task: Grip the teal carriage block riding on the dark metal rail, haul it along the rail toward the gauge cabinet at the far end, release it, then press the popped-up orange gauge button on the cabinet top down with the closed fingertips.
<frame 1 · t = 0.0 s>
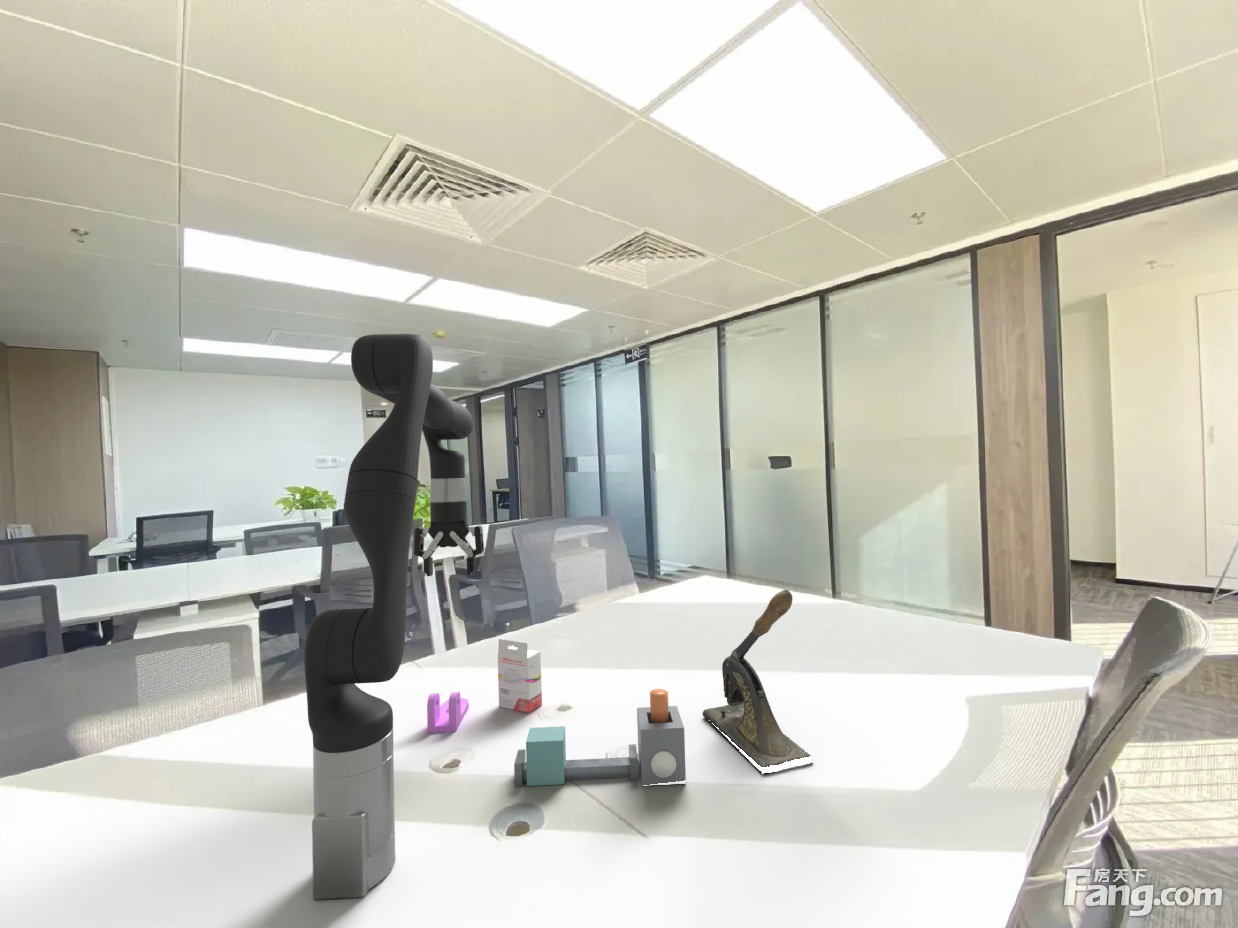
hand: (449, 575, 113), 29 cm above the table, tool pointing down, fingers open, 8 cm apart
gauge button: (659, 705, 88), point 11 cm above the table, slide at 0.0 cm
carriage: (546, 755, 87), point 4 cm above the table, slide at 0.0 cm
bracket: (450, 718, 110), on the table
gauge cabinet: (661, 771, 88), on the table
embossing press: (754, 741, 98), on the table
ink cartridge box: (520, 706, 115), on the table
rail: (577, 775, 87), on the table
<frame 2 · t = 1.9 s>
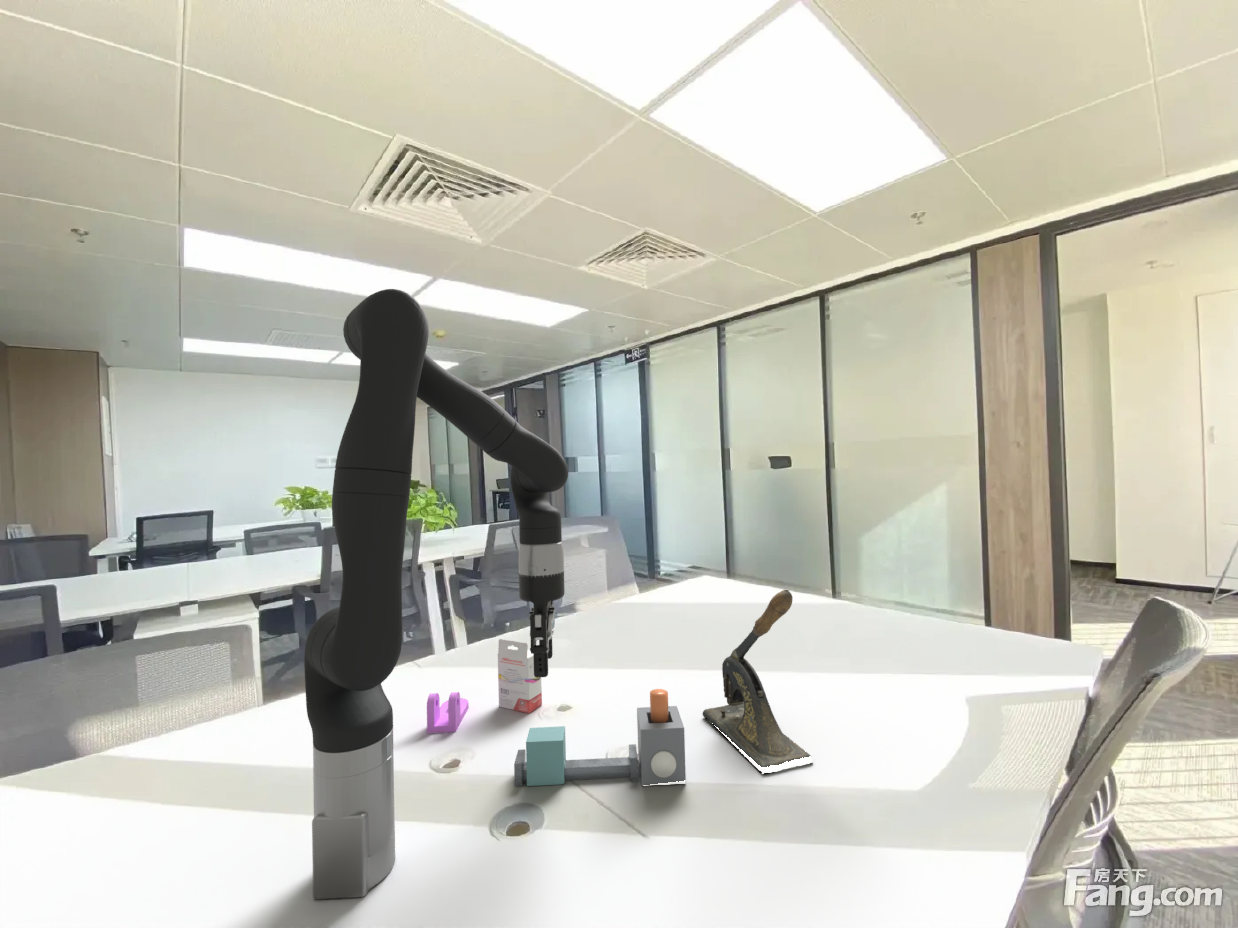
hand: (543, 666, 88), 18 cm above the table, tool pointing down, fingers open, 8 cm apart
nothing on the table moved.
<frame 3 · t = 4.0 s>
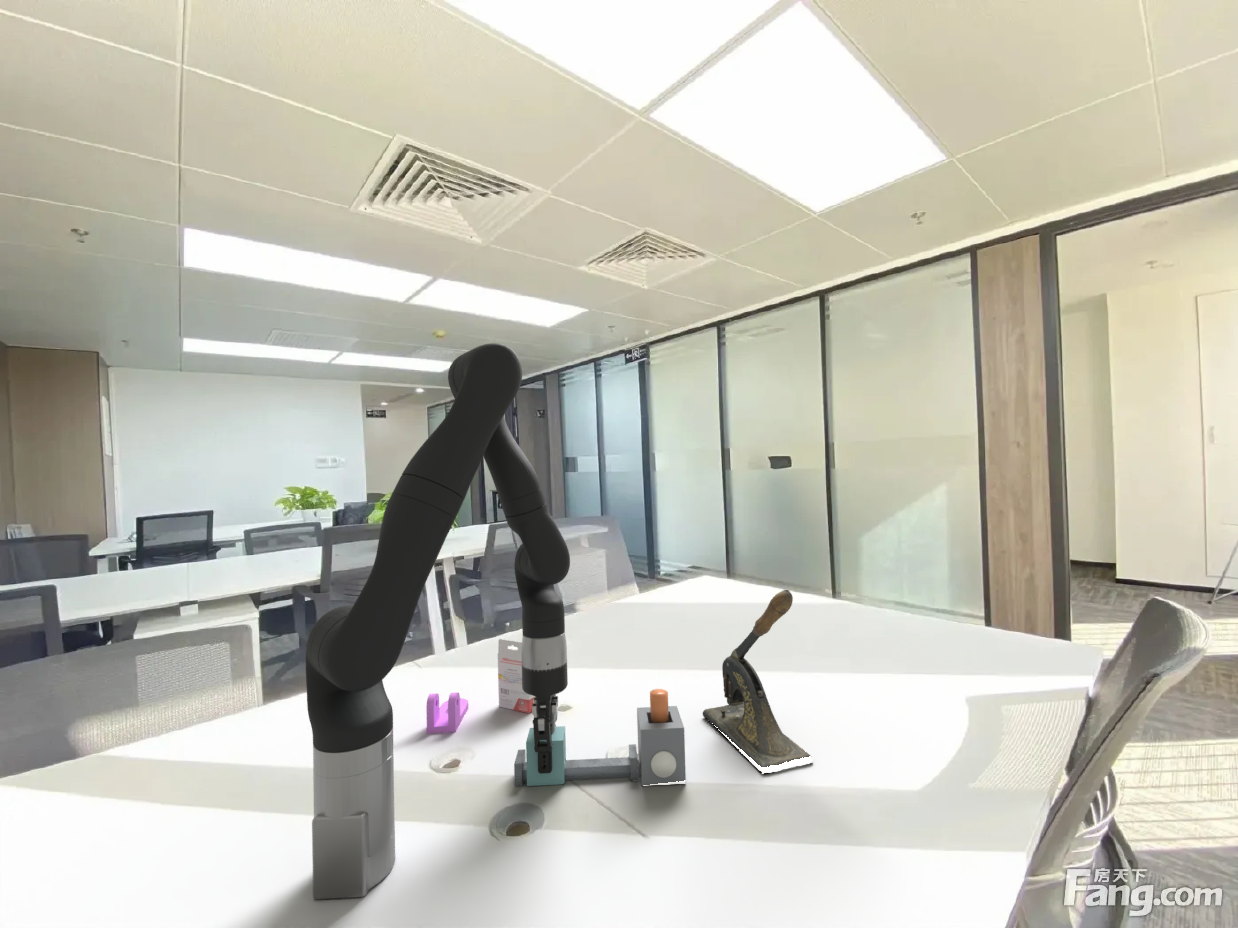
hand: (546, 762, 87), 2 cm above the table, tool pointing down, fingers closed on carriage, 4 cm apart
carriage: (546, 755, 87), point 4 cm above the table, slide at 0.0 cm, touching gripper
everything else where it was.
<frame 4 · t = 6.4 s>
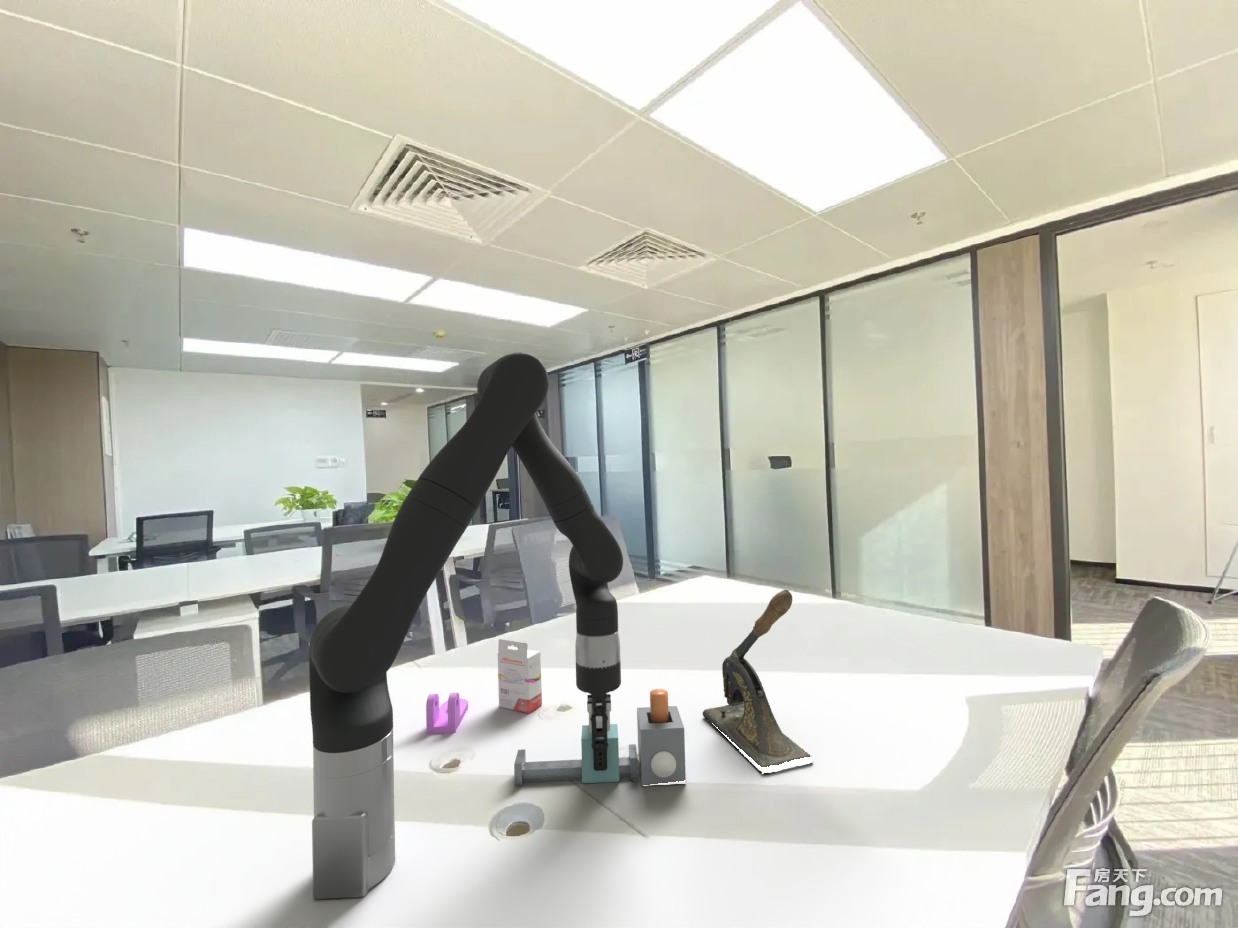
hand: (600, 759, 88), 2 cm above the table, tool pointing down, fingers closed on carriage, 4 cm apart
carriage: (600, 752, 88), point 4 cm above the table, slide at 8.9 cm, touching gripper
everything else where it was.
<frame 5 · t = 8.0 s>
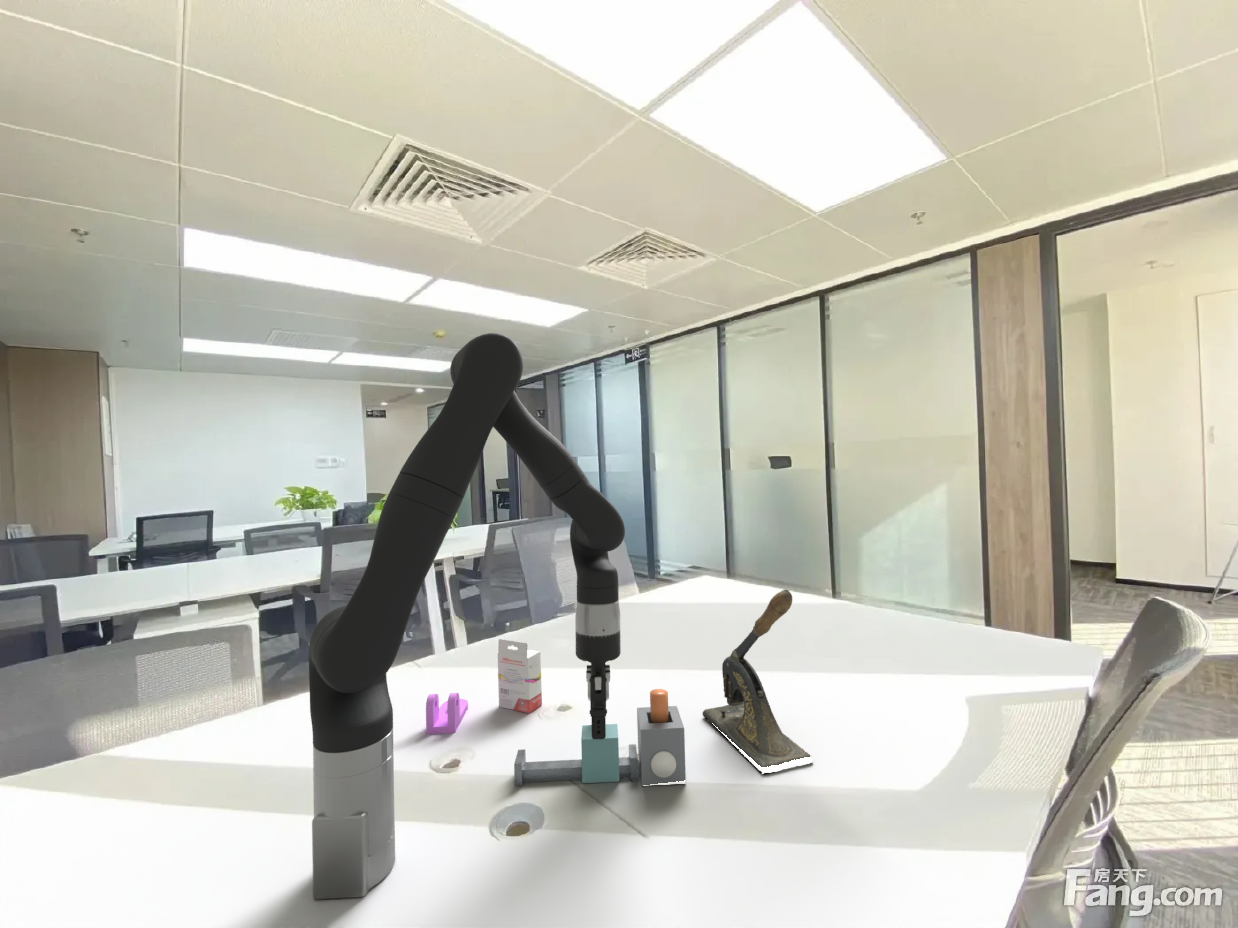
hand: (598, 725, 87), 8 cm above the table, tool pointing down, fingers open, 8 cm apart
carriage: (600, 752, 88), point 4 cm above the table, slide at 8.9 cm
everything else where it was.
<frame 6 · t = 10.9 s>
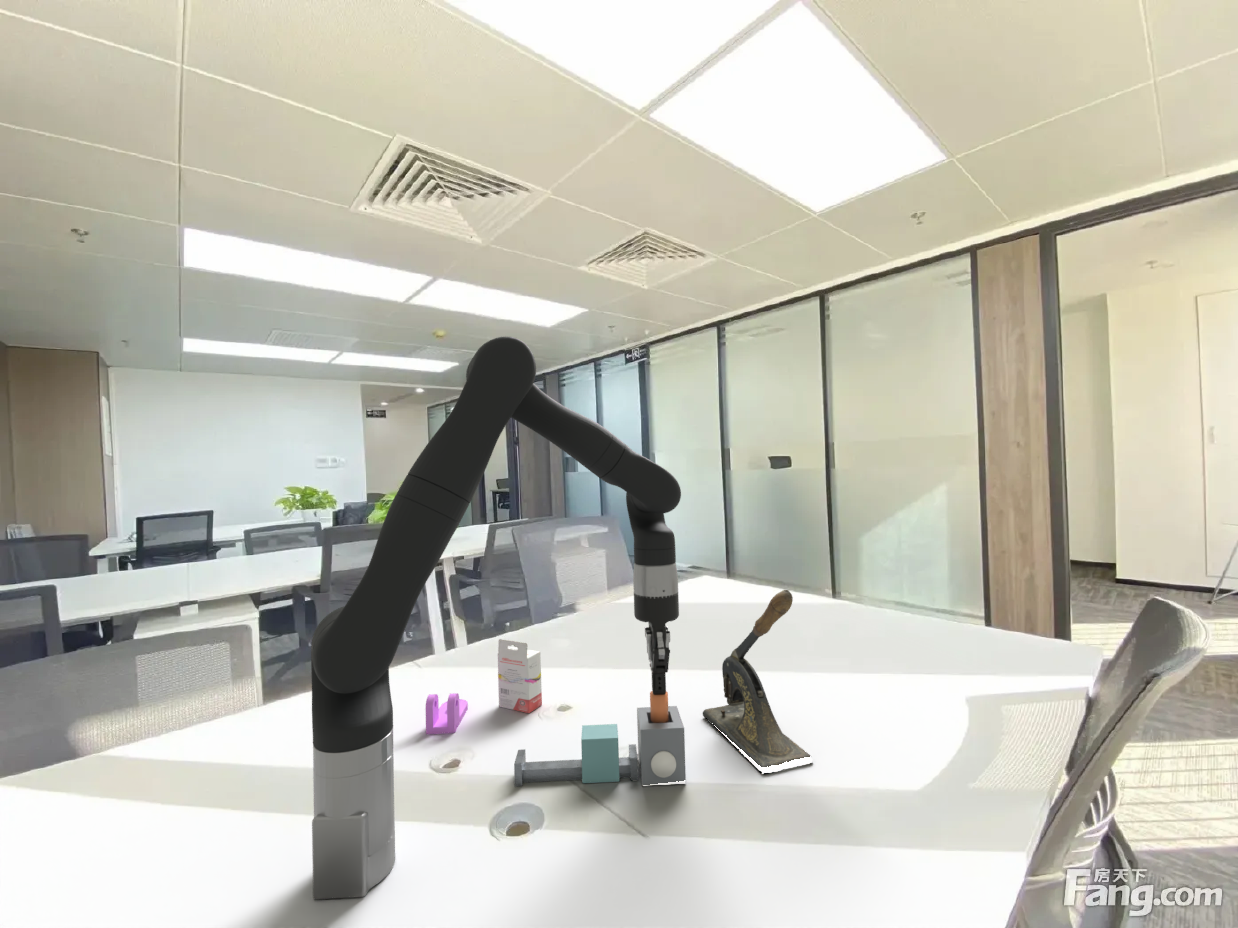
hand: (659, 692, 88), 13 cm above the table, tool pointing down, fingers closed
gauge button: (659, 706, 88), point 11 cm above the table, slide at 0.1 cm, touching gripper
everything else where it was.
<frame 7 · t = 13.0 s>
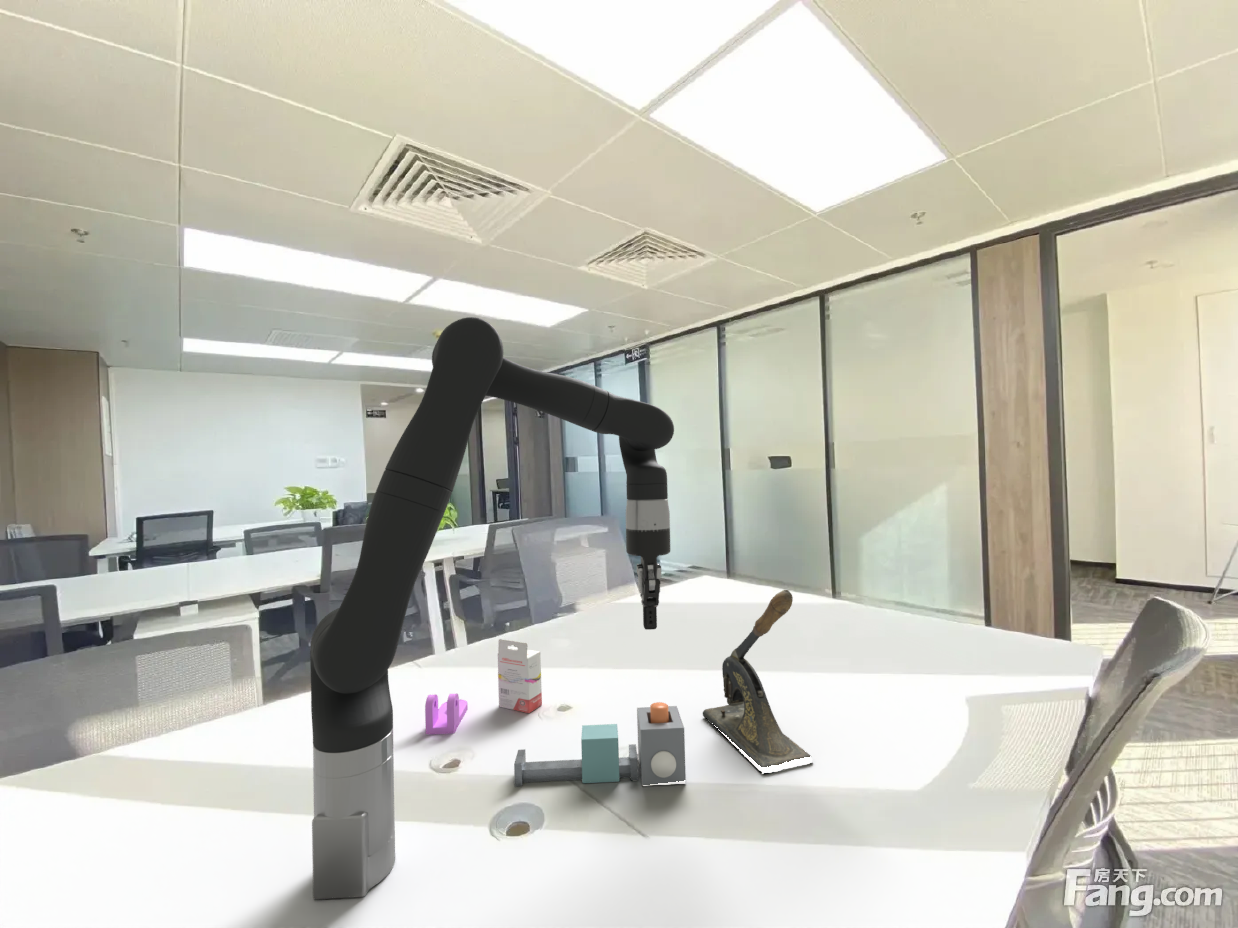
hand: (650, 627, 89), 24 cm above the table, tool pointing down, fingers closed
gauge button: (659, 719, 88), point 9 cm above the table, slide at 2.3 cm
everything else where it was.
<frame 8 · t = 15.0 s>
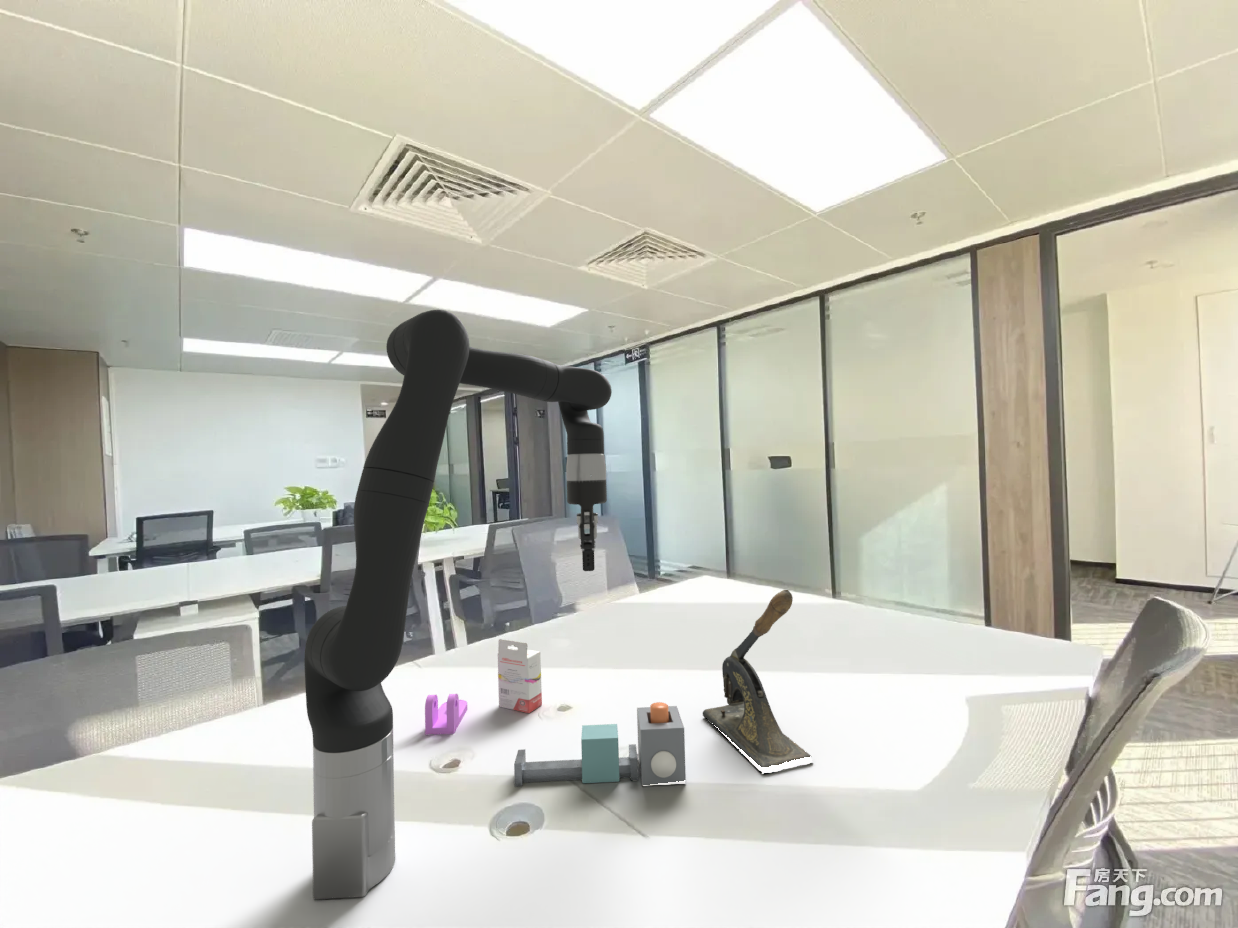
hand: (588, 570, 99), 32 cm above the table, tool pointing down, fingers closed
nothing on the table moved.
at the end: carriage slide at 8.9 cm; gauge button slide at 2.3 cm; the gripper is holding nothing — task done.
